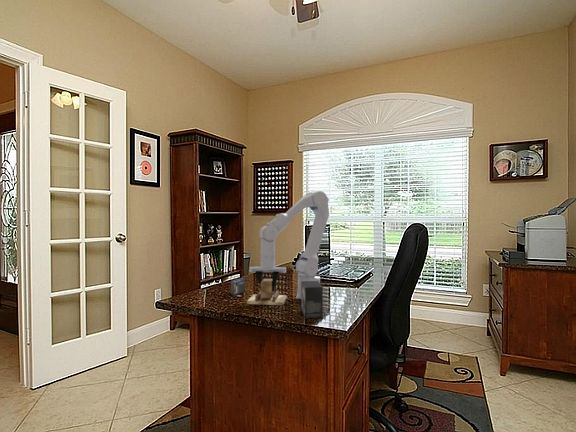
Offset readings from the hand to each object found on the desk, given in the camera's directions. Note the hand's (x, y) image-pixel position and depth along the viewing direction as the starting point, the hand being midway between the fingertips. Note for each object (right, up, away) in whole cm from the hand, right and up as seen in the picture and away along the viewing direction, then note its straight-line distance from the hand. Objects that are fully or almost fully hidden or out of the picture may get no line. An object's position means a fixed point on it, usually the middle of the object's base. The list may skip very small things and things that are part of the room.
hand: (267, 290), depth 137 cm
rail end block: (0, -2, 0) cm, 2 cm away
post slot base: (0, -4, 0) cm, 4 cm away
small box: (+16, -4, -18) cm, 24 cm away
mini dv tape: (-14, -4, +14) cm, 20 cm away
